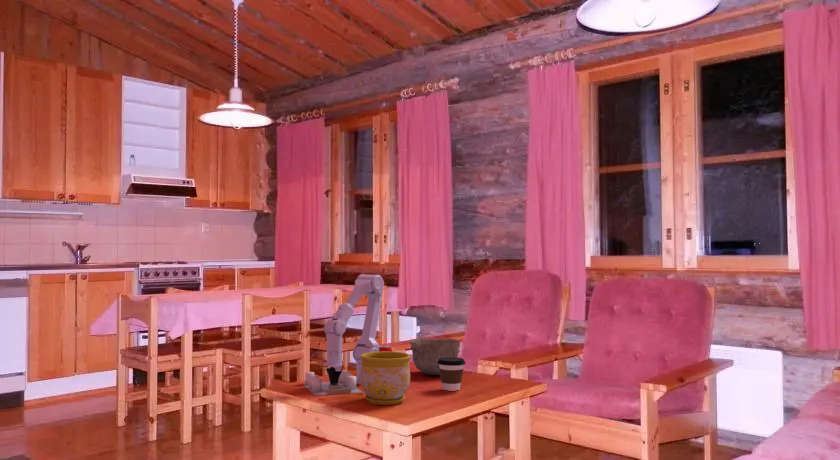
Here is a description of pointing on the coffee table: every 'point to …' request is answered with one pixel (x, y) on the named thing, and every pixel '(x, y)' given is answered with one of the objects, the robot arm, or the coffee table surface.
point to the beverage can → (385, 348)
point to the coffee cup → (451, 372)
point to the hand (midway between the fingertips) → (333, 387)
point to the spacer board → (323, 388)
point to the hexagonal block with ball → (335, 386)
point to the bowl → (432, 353)
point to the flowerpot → (385, 376)
